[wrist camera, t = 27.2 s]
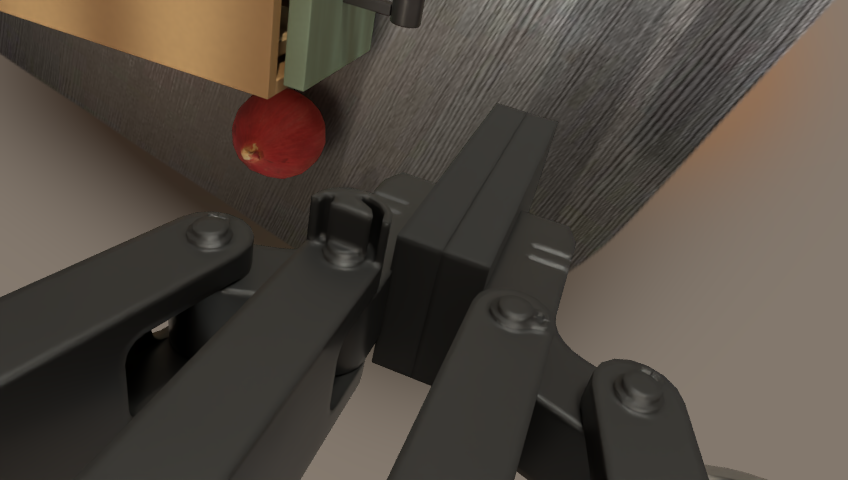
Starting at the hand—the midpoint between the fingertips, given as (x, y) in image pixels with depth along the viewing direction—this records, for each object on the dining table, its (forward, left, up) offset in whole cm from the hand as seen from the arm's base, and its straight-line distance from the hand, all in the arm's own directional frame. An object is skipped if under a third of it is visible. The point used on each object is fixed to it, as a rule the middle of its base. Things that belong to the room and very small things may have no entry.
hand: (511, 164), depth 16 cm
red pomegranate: (-13, +17, -25) cm, 33 cm away
